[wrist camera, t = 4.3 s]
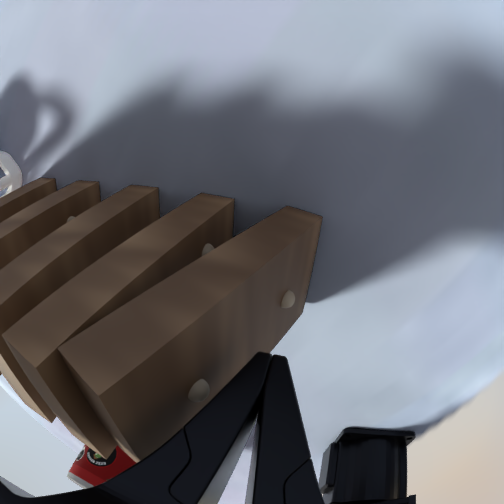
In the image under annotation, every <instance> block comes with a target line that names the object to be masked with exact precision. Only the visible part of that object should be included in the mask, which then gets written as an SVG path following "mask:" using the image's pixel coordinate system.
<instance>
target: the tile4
mask: <svg viewBox="0 0 504 504" xmlns="http://www.w3.org/2000/svg"><path fill="white" fill-rule="evenodd" d="M100 202H101V198H100V190H99V182H96V181H83V180H78V181H76V182H74V183H72V184H70V185H68V186H66V187H64V188H62V189H60V190H58V191H56V192H54V193H52V194H50V195H48V196H46V197H44V198H43V199H41V200H39V201H37V202H35V203H33V204H32V205H30V206H28V207H26V208H25V209H23V210H21V211H19V212H18V213H16V214H14V215H13V216H11V217H9V218H8V219H6V220H4V221H3V222H1V223H0V270H1V269H2V268H4V267H5V266H6V265H7V264H9V263H10V262H11V261H13V260H14V259H15V258H17V257H18V256H19V255H21V254H22V253H24V252H25V251H26V250H28V249H29V248H30V247H32V246H33V245H35V244H36V243H37V242H39V241H40V240H42V239H43V238H45V237H46V236H48V235H49V234H51V233H52V232H54V231H55V230H57V229H58V228H60V227H61V226H63V225H64V224H66V223H67V222H69V221H70V220H72V219H74V218H75V217H77V216H78V215H80V214H82V213H83V212H85V211H86V210H88V209H90V208H91V207H93V206H95V205H96V204H98V203H100ZM1 374H2V373H1V371H0V375H1Z"/></svg>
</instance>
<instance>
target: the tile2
mask: <svg viewBox="0 0 504 504" xmlns="http://www.w3.org/2000/svg"><path fill="white" fill-rule="evenodd" d="M233 218H234V199H232V198H226V197H221V196H216V195H211V194H205V193H200V194H199V195H197V196H195V197H194V198H192V199H190V200H189V201H187V202H185V203H184V204H182V205H180V206H179V207H177V208H176V209H174V210H172V211H171V212H169V213H167V214H166V215H164V216H163V217H161V218H160V219H158V220H156V221H155V222H153V223H152V224H150V225H149V226H147V227H146V228H144V229H143V230H141V231H139V232H138V233H136V234H135V235H133V236H132V237H130V238H129V239H127V240H126V241H124V242H123V243H122V244H120V245H119V246H117V247H116V248H114V249H113V250H111V251H110V252H108V253H107V254H106V255H104V256H103V257H101V258H100V259H98V260H97V261H96V262H94V263H93V264H91V265H90V266H89V267H87V268H86V269H84V270H83V271H82V272H80V273H79V274H78V275H76V276H75V277H74V278H72V279H71V280H69V281H68V282H67V283H65V284H64V285H63V286H62V287H60V288H59V289H58V290H56V291H55V292H54V293H52V294H51V295H50V296H48V297H47V298H46V299H45V300H43V301H42V302H41V303H40V304H38V305H37V306H36V307H35V308H33V309H32V310H31V311H30V312H28V313H27V314H26V315H25V316H23V317H22V318H21V319H20V320H19V321H17V322H16V323H15V324H14V325H13V326H11V327H10V328H9V329H8V330H7V331H6V332H4V333H3V334H2V336H3V338H4V340H5V341H6V343H7V345H8V347H9V348H10V350H11V352H12V353H13V355H14V357H15V358H16V360H17V361H18V363H19V365H20V366H21V368H22V369H23V371H24V372H25V374H26V375H27V377H28V378H29V380H30V381H31V383H32V384H33V386H34V387H35V388H36V390H37V391H38V393H39V394H40V395H41V397H42V398H43V399H44V401H45V402H46V403H47V405H48V406H49V407H50V408H51V410H52V411H53V412H54V413H55V415H56V416H57V417H58V418H59V420H60V421H61V422H62V423H63V424H64V426H65V427H66V428H67V429H68V430H69V431H70V432H71V434H72V435H74V436H75V437H76V438H77V439H79V440H80V441H81V442H83V443H84V444H85V445H87V446H88V447H89V448H91V449H92V450H93V451H95V452H96V453H98V454H99V455H101V456H102V457H103V458H105V459H106V460H107V458H108V457H109V456H110V454H111V453H112V452H113V450H114V449H115V448H116V446H117V444H116V442H115V441H114V440H113V438H112V437H111V436H110V434H109V433H108V432H107V430H106V429H105V427H104V426H103V424H102V423H101V422H100V420H99V419H98V417H97V416H96V414H95V413H94V411H93V410H92V408H91V406H90V405H89V403H88V402H87V400H86V399H85V397H84V395H83V394H82V392H81V390H80V389H79V387H78V385H77V384H76V382H75V380H74V378H73V377H72V375H71V373H70V371H69V369H68V368H67V366H66V364H65V362H64V360H63V358H62V356H61V354H60V352H59V350H58V347H59V346H61V345H62V344H64V343H65V342H67V341H69V340H70V339H72V338H73V337H75V336H76V335H78V334H79V333H81V332H82V331H84V330H85V329H87V328H89V327H90V326H92V325H93V324H95V323H96V322H98V321H99V320H101V319H103V318H104V317H106V316H107V315H109V314H110V313H112V312H114V311H115V310H117V309H118V308H120V307H121V306H123V305H125V304H126V303H128V302H129V301H131V300H132V299H134V298H136V297H137V296H139V295H140V294H142V293H144V292H145V291H147V290H148V289H150V288H152V287H153V286H155V285H156V284H158V283H160V282H161V281H163V280H165V279H166V278H168V277H169V276H171V275H173V274H174V273H176V272H177V271H179V270H181V269H182V268H184V267H186V266H187V265H189V264H190V263H192V262H194V261H195V260H197V259H199V258H200V257H202V256H204V255H205V254H207V253H209V252H210V251H212V250H213V249H215V248H217V247H218V246H220V245H222V244H223V243H225V242H227V241H228V240H230V239H232V238H233Z"/></svg>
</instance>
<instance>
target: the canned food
mask: <svg viewBox="0 0 504 504" xmlns="http://www.w3.org/2000/svg"><path fill="white" fill-rule="evenodd" d="M134 464H136V462H135V461H134V460H133V459H132V458H131V457H129V456H128V455H127V454H126V453H125V452H124V451H123V450H122V449H121V448H120V447H119V446H118V445H117V446H116V448H115V449H114V450H113V452H112V453H111V454H110V456H109V457H108V458H107V460H106V459H105V458H103V457H102V456H101V455H99V454H98V453H96V452H95V451H93V450H92V449H91V448H89V447H88V446H87V445H84V447H83V449H82V450H81V452H80V453H79V455H78V457H77V458H76V460H75V462H74V463H73V465H72V467H71V469H70V471H69V473H68V475H67V477H68V478H69V479H70V480H72V481H73V482H75V483H76V484H77V485H79V486H80V487H82V488H83V489H86V488H90V487H94V486H96V485H99V484H101V483H104V482H106V481H108V480H109V479H111V478H113V477H115V476H116V475H118V474H120V473H121V472H123V471H125V470H126V469H128V468H129V467H131V466H133V465H134Z"/></svg>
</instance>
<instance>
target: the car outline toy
mask: <svg viewBox="0 0 504 504" xmlns="http://www.w3.org/2000/svg"><path fill="white" fill-rule="evenodd" d="M0 167H1V169H2V170H3V171H4V173H5V174H6V176H4V177H2V178H0V191H2V190H4V189H5V188H7V187H8V190H7V192H6V193H5V194H4V195H3V196H5V195H7V194H9V193H10V192H12V191H14V190H16V189H18V188H20V187H21V186H22V172H21V170H20V168H19V166H18V165H17V163H16V162H15V161H14V159H13V158H12V157H11V156H10V155H9V154H8V153H6V152H4V151H0ZM3 196H1V197H3ZM1 197H0V198H1Z"/></svg>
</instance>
